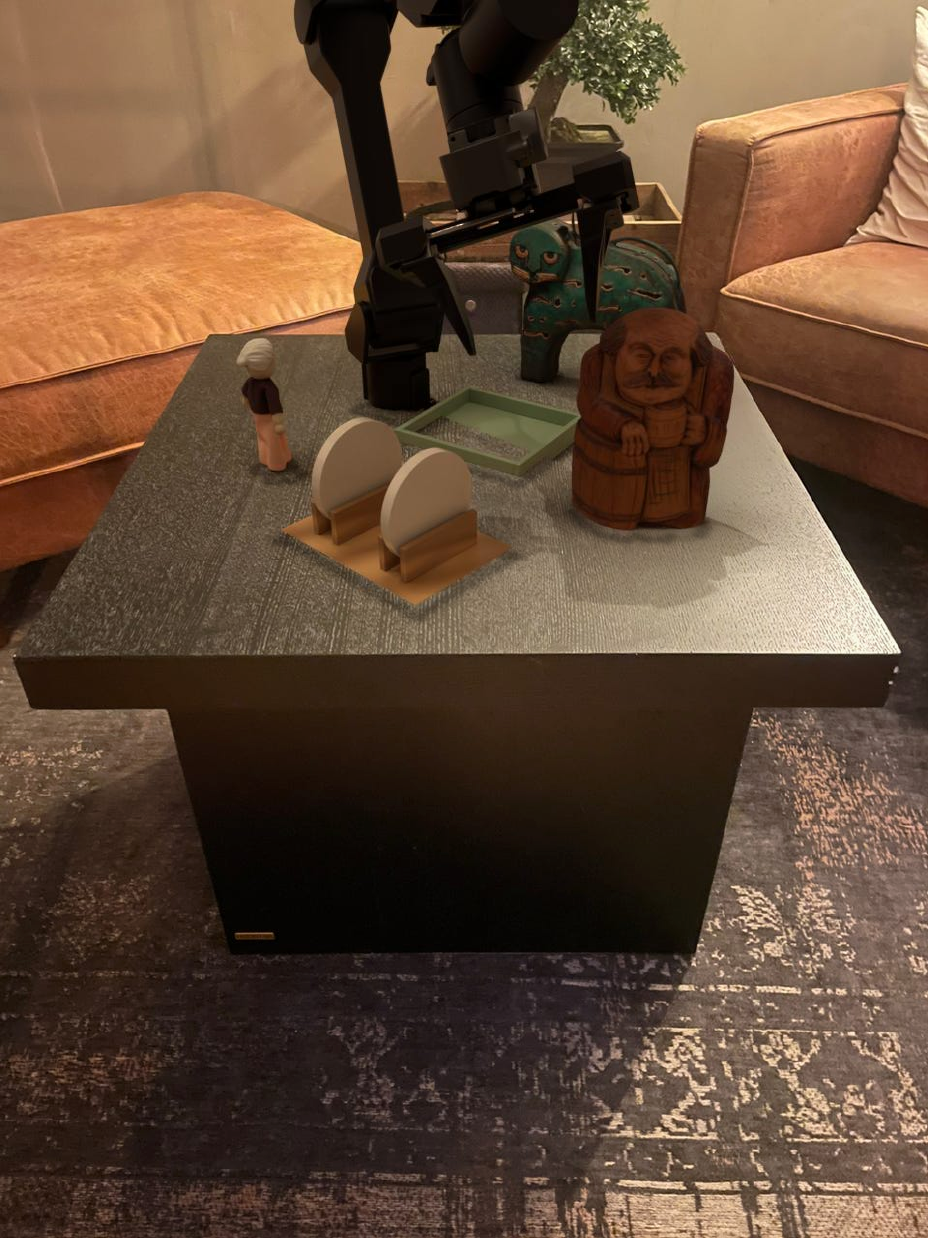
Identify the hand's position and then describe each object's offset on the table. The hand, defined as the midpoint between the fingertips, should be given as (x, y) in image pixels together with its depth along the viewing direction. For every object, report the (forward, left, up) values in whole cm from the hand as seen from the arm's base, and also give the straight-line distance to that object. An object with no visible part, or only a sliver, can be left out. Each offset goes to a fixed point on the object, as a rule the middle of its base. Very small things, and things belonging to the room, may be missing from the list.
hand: (532, 339), depth 67 cm
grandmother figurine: (-26, -3, -17) cm, 31 cm away
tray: (-12, +14, -17) cm, 25 cm away
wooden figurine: (+7, +7, -17) cm, 20 cm away
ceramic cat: (-10, +32, -17) cm, 38 cm away
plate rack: (-8, -8, -17) cm, 20 cm away
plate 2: (-4, -8, -16) cm, 18 cm away
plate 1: (-12, -7, -16) cm, 21 cm away
